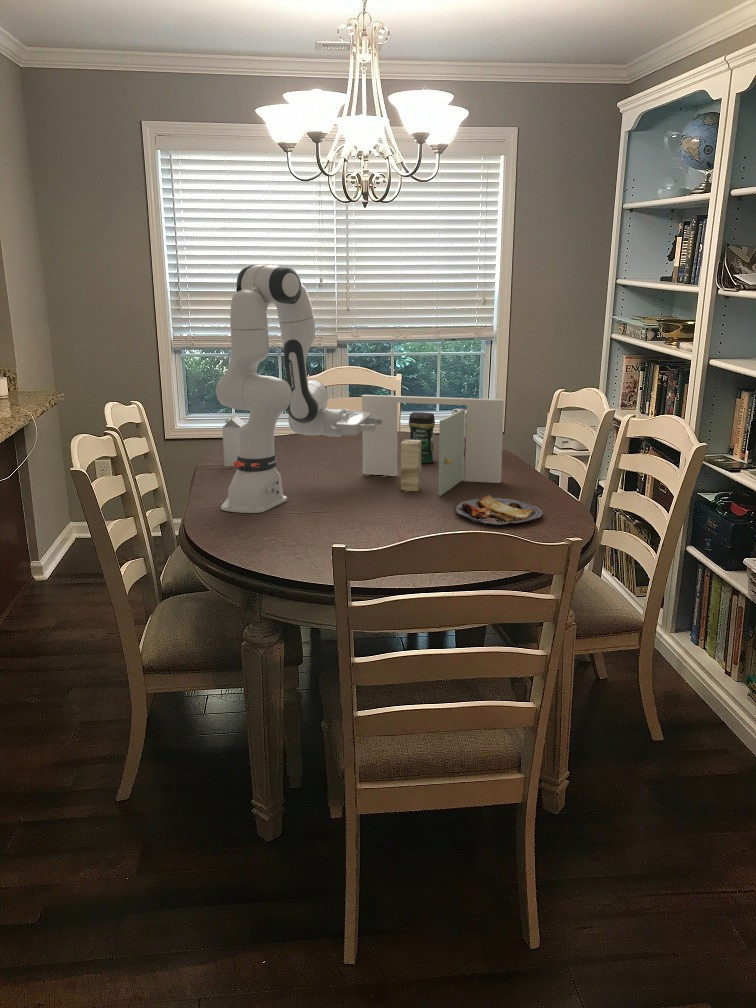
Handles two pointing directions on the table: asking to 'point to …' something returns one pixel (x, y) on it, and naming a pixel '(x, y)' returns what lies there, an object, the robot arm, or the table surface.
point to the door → (451, 451)
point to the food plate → (497, 510)
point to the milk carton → (231, 439)
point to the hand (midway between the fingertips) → (378, 424)
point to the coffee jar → (423, 433)
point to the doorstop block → (411, 465)
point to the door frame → (480, 435)
